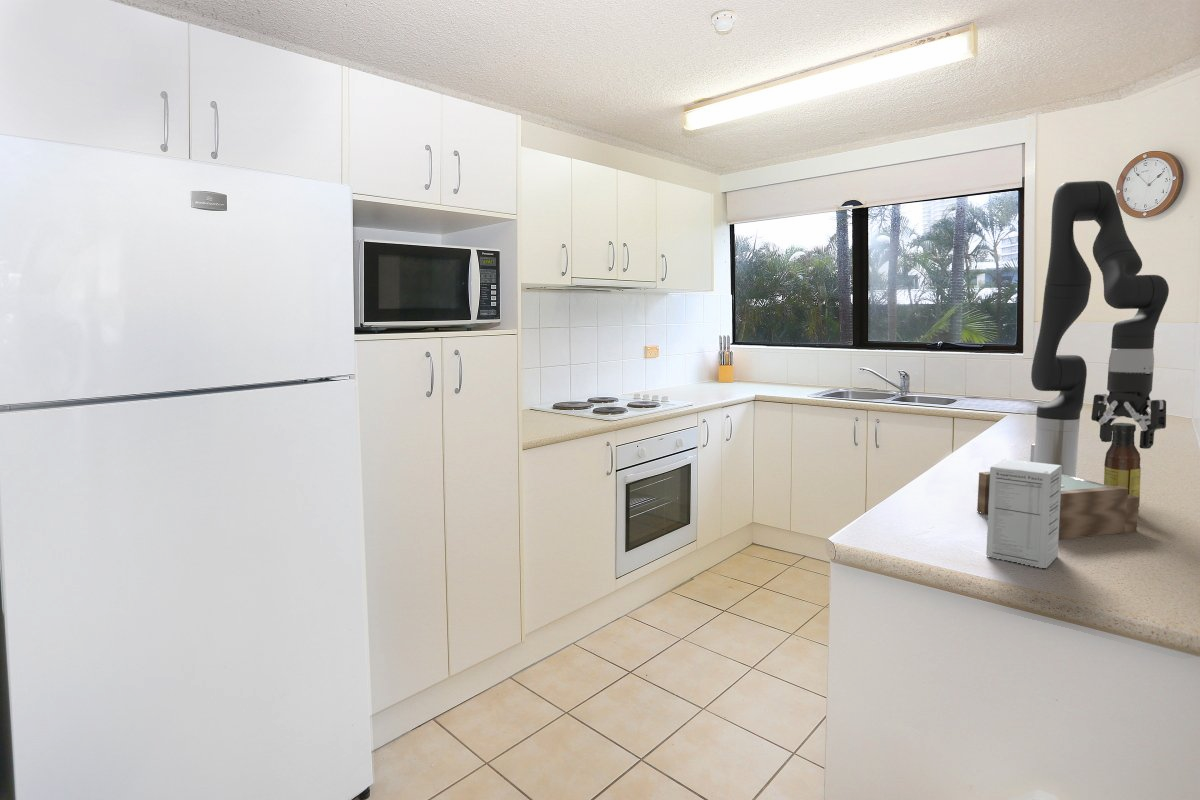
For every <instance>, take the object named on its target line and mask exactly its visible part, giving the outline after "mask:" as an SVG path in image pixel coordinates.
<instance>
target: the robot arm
mask: <svg viewBox="0 0 1200 800" xmlns="http://www.w3.org/2000/svg"><path fill="white" fill-rule="evenodd" d="M1052 201H1053V202H1052V208H1051V228H1050V229H1051V231H1050V249H1049V250H1050V251H1049V259H1048V267H1047V272H1046V277H1045V278H1046V279H1045V285H1044V292H1043V302H1042V312H1041V320H1040V328H1039V333H1038V334H1039V335H1038V338H1037V342H1036V346H1035V347H1036V348H1035V351H1034V355H1033V360H1032V366H1031V373H1030V376H1031V377H1030V379H1031V382H1032V383H1031V384H1032V386H1033V388H1034V389H1035V390H1037V391H1040V392H1059V393H1058V396H1056V397H1055V398H1054V399H1052V400H1050V401H1048V402H1045V403H1041V404H1039V405H1038V406H1037V408H1036V413H1035V414H1036V415H1035V432H1034V433H1035V434H1034V443H1032V444H1031V445H1030V446H1031V447H1030V458H1029V459H1030V460H1029V462H1036V463H1045V464H1054V465H1062V474H1063V475H1067V476H1071V477H1075V478H1077V468H1078V467H1077V465H1078V464H1077V463H1078V453H1079V438H1080V437H1079V436H1080V421H1081V412H1082V409H1083V406H1084V400H1085V398H1084V397H1085V391H1086V385H1087V375H1088V374H1087V373H1088V372H1087V364H1086V363H1087V362H1086V361H1085V360H1084V358H1083V357H1082V356H1081V355H1076V354H1057V352H1058V348H1059V345H1060V342H1061V340H1062V338H1063V336H1064V335H1065V333H1066V332H1067V331H1068V329H1069V328H1070V327H1071V326H1072V325H1073V323H1074V322H1076V320H1077V319H1078V318H1079V317H1080V316H1081V314H1082V313H1083V312H1084V310H1085V309H1086V308H1087V306H1088V303H1089V298H1090V291H1091V285H1092V275H1091V274H1092V273H1091V271H1090V268H1089V267H1088V265H1087V262H1086V261H1085V260H1084V258H1083V256H1082V255H1081V253H1080V251H1079V249H1078V248H1077V246H1076V242H1075V235H1074V226H1075V225H1074V223H1075V222H1090V221H1094V222H1096V223H1097V225H1098V226H1099V227H1100V229H1099V231H1098V233H1097V235H1096V237H1095V240H1094V242H1093V245H1092V256H1093V259H1094V260H1095V262H1096V264H1097V267H1098V268H1099V270H1100V272H1101V274H1102V281H1103V297H1104V300H1105V302H1106V304H1107V305H1109V306H1110V307H1111V308H1113V309H1117V310H1130V309H1131V310H1135V309H1138V310H1137V311H1136V313H1135V315H1134V316H1133V317H1132V318H1130V319H1124V320H1121V321H1117V322H1115V323H1114V325H1113V327H1112V329H1111V330H1112V333H1111V345H1110V348H1111V349H1110V353H1109V358H1108V368H1107V370H1108V371H1107V387H1106V389H1107V391H1108V392H1109V393H1108V394H1106V393H1105V394H1104V393H1103V394H1102V393H1101V394H1095V395H1093V403H1092V410H1091V421H1094V422H1097V423H1098V424H1099V439H1100V441H1101V442H1104V443H1110V442H1111V443H1112V438H1113V431H1112V424H1113V423H1115V421H1116V420H1118V419H1119V418H1122V417H1125V418H1129V419H1133V421H1134V422H1135V423H1137V424H1138V426H1139V427H1140V429H1141V430H1140V433H1139V434H1140V436H1139V449H1144V450H1145V449H1147V450H1149V449H1151V448H1152V447H1153V446H1154V441H1155V440H1154V439H1155V432H1156V431H1157V430H1161V429H1163V430H1164V429H1165V428H1166V427H1167V401H1166V400H1165V399H1151V397H1150V394H1151V392H1153V391H1152V390H1153V381H1154V379H1153V378H1154V366H1155V355H1154V345H1155V331H1156V328H1157V324H1159V323H1158V322H1159V320H1160V317H1161V315H1162V313H1163V312H1162V311H1163V309H1164V308H1165V305H1166V303H1167V302H1168V301H1167V300H1168V297H1169V293H1170V287H1169V284H1168V282H1167V280H1166V279H1165V278H1164V277H1163V276H1161V275H1159V274H1139V273H1140V272H1141V270H1142V268H1143V261H1142V259H1141V257H1140V254H1139V253H1138V251H1137V249H1136V248H1135V246H1134V244H1133V243H1132V241H1131V240H1130V238H1129V235H1128V234H1127V231H1126V228H1125V224H1124V220H1123V216H1122V213H1121V209H1120V207H1119V203H1118V199H1117V196H1116V193H1115V190H1114V188H1113V186H1112V185H1111V184H1110V183H1109V182H1107V181H1104V180H1083V181H1081V180H1080V181H1079V180H1078V181H1067V182H1063V183H1062V184H1060V185H1059V186H1058V187H1057V189H1056V191H1055V193H1054V195H1053V200H1052ZM1107 405H1109V407H1108V408H1107ZM1149 409H1150V411H1149Z"/></svg>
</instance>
